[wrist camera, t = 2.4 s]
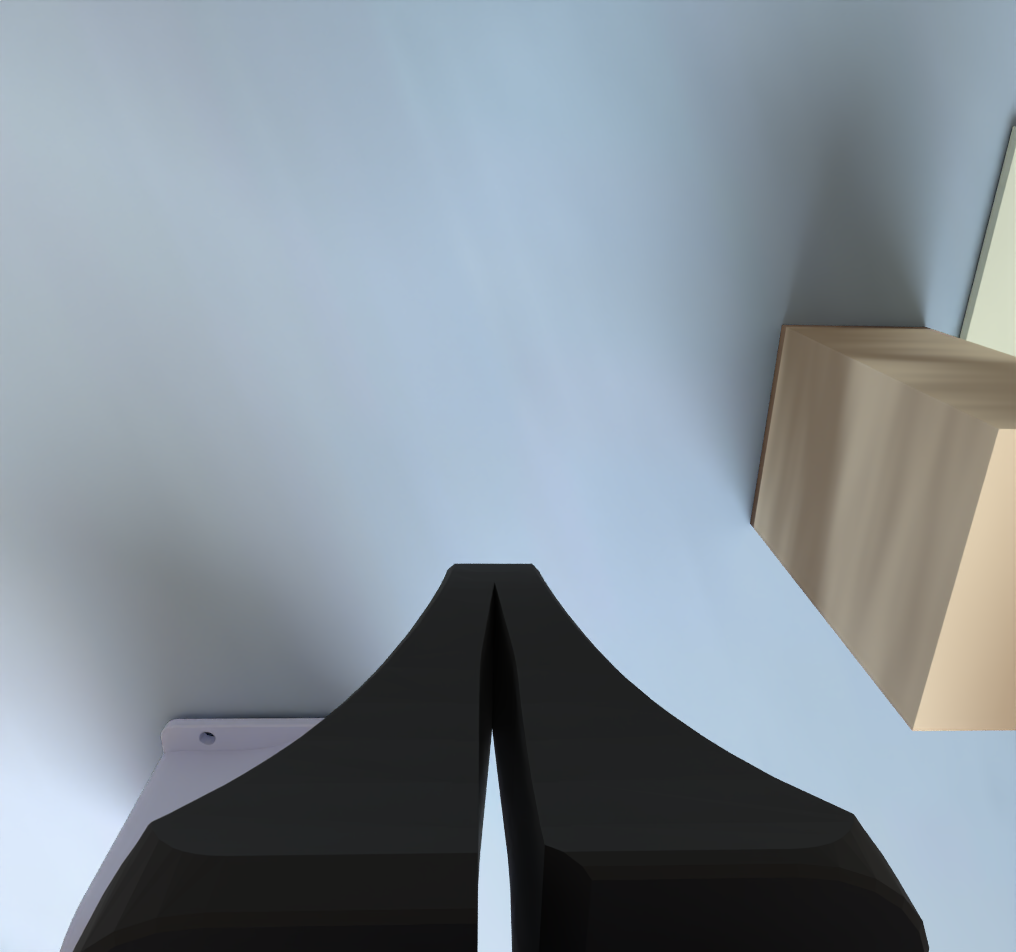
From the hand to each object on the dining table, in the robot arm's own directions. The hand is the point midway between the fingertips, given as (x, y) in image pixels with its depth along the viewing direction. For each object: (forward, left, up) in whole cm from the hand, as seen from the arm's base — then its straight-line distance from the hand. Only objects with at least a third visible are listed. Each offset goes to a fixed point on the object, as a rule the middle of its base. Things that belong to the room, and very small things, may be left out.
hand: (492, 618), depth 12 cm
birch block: (+10, 0, -10) cm, 14 cm away
